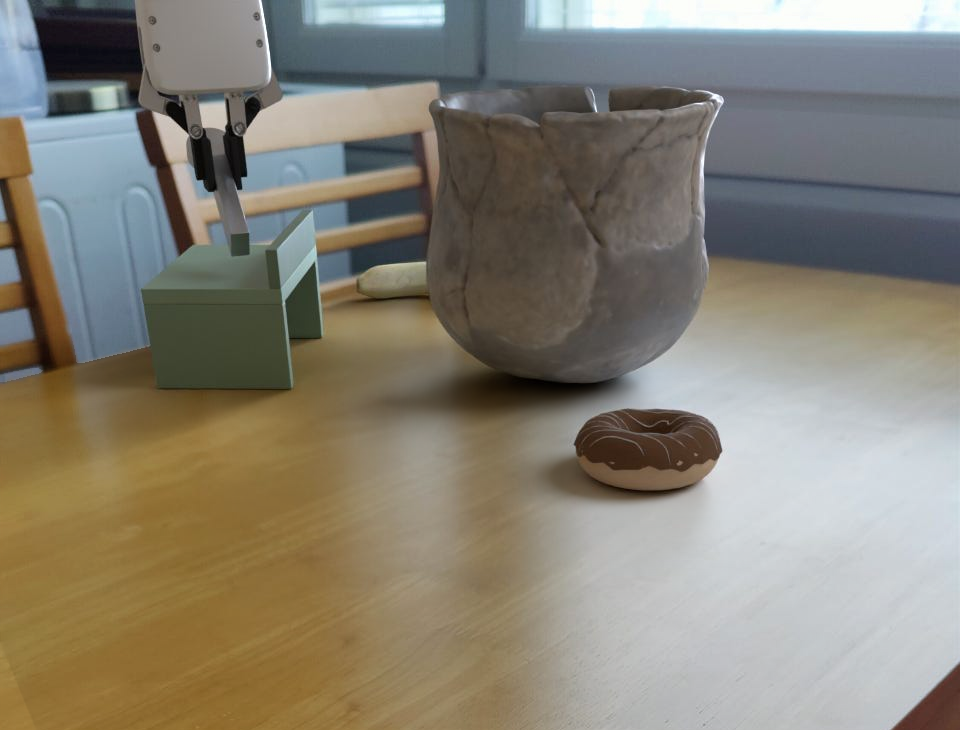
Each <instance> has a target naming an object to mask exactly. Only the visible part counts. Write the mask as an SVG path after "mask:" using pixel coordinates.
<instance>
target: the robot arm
mask: <svg viewBox="0 0 960 730" xmlns="http://www.w3.org/2000/svg"><path fill="white" fill-rule="evenodd" d="M134 9H135V18H136V27H137V35H138V43H139V44H138V45H139V51H140V52H139V53H140V59H141V64H142V74H141V80H140V86H139V91H138V92H139V93H138V103H139V105H140V106H141V107H142V108H144V109H145V110H149V111H151V112H154V113H157V114H159V115H162V116H165V117H168V118H170V119H171V120H172V121H173V122H174V123H175V124H177V125H178V127H180V128H181V129H182V130H183V131H184V132H185V133H186V134H187V135H188V136H189V135H190V142H191V149H192V156H193V163H194V168H193V170H194V175H195V176H194V177H195V180H196V181H202V184H203V188H204V189H205V191H206V192H207V193H213V192H215V190H216V183H215V180H216V178H215V171H214V163H213V155H212V148H211V141H210V139H208V138H207V136H206V130H205V129H204V128H205V127H203V122H202V115H201V109H200V102H199V97H198V96H199V95H208V94H210V95H211V94H212V95H213V94H223V97H224V105H225V106H224V107H225V116H226V124H225V126H224V131H225V132H226V133H224V134H225V135H223V143H224V151H225V154H226V156H227V160H228V163H229V167H230V170H231V174H232V177H233V179H234V182H235V185H236V189H237V191H242V190H243V181H242V178H248V166H247V158H246V149H245V148H246V147H245V142H244V136H245V135H246V134H247V131H248V128H249V127H250V126H251V124H252V123H253V121H254V120H255V119H256V117H257V116H258V114H259V113H260V112H261V111H263V110H265V109H268V108H269V107H271V106H273V105H276V104H277V103H279V102H280V101H281V100H283V96H284V93H283V90H282V88H281V86H280V83H279V81H278V79H277V76H276V74H275V71H274V69H273V67H272V64H271V54H270V45H269V40H268V33H267V27H266V21H265V20H266V19H265V15H264V9H263V2H262V0H134ZM254 91H256V92H254ZM245 92H254V93H252V94H250V95H247V96H246V97H245ZM160 93H162V94H164V95H168V96H178V99H179V103H178V102H176V101H175V100H173V99H170V98H167V97H165V96H162V95H161V94H160Z"/></svg>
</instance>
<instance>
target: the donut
mask: <svg viewBox="0 0 960 730" xmlns="http://www.w3.org/2000/svg"><path fill="white" fill-rule="evenodd" d="M572 445H573V446H574V447H575V454H576V458H577V462H578V463H579V465H580V467H581V469H583V471H585V473H586V474H587V475H589V476H590V477H591V478H592V479H594V480H596V481H598V482H601V483H603V484H605V485H609V486H611V487H615V488H621V489H625V490H633V491H668V490H674V489H679V488H683V487H687V486H690V485H693V484H695V483H698V482H699V481H701V480H702V479H704V478H705V477H707V476H708V475H709V474H710V473H711V472H712V471H713V470H714V468H715V467H716V465H717V463H718V461H719V459H720V457H721V456H720V455H721V454H722V453H723V447H722V443H721V437H720V434H719V431H718V428H717V427H716V426H715V425H714V424H713V422H712V421H710V420H709V419H708V418H706V417H704V416H703V415H700V414H696V413H694V412H690V411H687V410H682V409H681V410H680V409H665V408H644V409H643V408H642V409H641V408H640V409H637V408H628V407H627V408H621V409H615V410H611V411H607V412H602V413H599V414H597V415H595V416H594V417H591V418H589V419H588V420H587V421H585V423H584V424H583V425H582V427H581V428H580V430H579V431H578V433H577V435H576V437H575V439H574V442H573V444H572Z"/></svg>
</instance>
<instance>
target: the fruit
mask: <svg viewBox="0 0 960 730" xmlns="http://www.w3.org/2000/svg"><path fill="white" fill-rule="evenodd" d="M355 281H356V283H355V284H356V287H355V289H356V294H357V293H358V294H360V295H363V296H366V297H369V298H373V299H390V298H391V299H392V298H399V297H408V296H420V295H421V296H422V295H430V293H429V290H428V287H427V282H426V261H417V262H416V261H415V262H400V263H390V264H389V263H388V264H382V265H381V264H380V265H375V266H373V267H370V268H368V269H367V270H366V271H364V272H363V273H361V274H360V275H359V276H357V277H356V280H355Z"/></svg>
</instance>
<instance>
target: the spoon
mask: <svg viewBox="0 0 960 730" xmlns="http://www.w3.org/2000/svg"><path fill="white" fill-rule="evenodd" d="M203 128H204V129H205V130H206V136H207V138H208V139H210V141H211V148H212V155H213V163H214V171H215V178H216V180H215V183H216V190H215V192H212V193H213V197H214V201H215V203H216V208H217V211H218V214H219V218H220V221H221V222H220V223H221V225H222V229H223V232H224V236H225V240H226V243H227V245H228V246H229V250H230V254H231V256H232V257H233V256H245V255H250V247H249V245H250V230H249V227H248V223H247V220H246V217H245V213H244V209H243V207H242V206H243V205H242V203H241V199H240V196H239V193H238V190H237V189H236V185H235V182H234V179H233V177H232V174H231V170H230V167H229V163H228V160H227V156H226V154H225V151H224V143H223V135H225V134H224V133H226V131H225V130H223V129H220V128H217V127H216V128H215V127H203ZM185 147H186V159H187V161H188V163H189V165H190V166H191V167H192V168H193V169H194V163H193V156H192V149H191V142H190V135H189V134H188V136H187V138H186V141H185Z"/></svg>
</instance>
